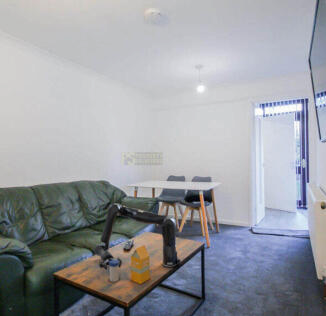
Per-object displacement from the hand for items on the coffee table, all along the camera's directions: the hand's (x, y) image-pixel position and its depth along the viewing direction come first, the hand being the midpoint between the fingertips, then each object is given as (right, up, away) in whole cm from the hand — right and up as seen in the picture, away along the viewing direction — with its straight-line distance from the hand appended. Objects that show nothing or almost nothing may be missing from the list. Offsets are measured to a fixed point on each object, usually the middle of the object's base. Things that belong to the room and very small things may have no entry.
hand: (113, 267), depth 153 cm
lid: (+1, +4, -2) cm, 4 cm away
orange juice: (+17, -7, -2) cm, 19 cm away
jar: (+1, -7, -2) cm, 7 cm away
